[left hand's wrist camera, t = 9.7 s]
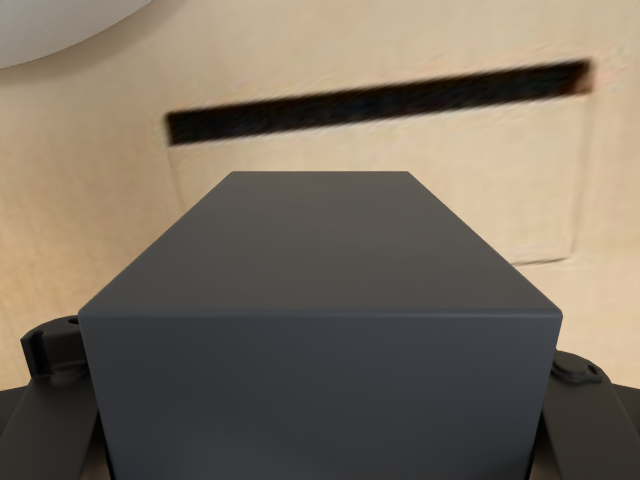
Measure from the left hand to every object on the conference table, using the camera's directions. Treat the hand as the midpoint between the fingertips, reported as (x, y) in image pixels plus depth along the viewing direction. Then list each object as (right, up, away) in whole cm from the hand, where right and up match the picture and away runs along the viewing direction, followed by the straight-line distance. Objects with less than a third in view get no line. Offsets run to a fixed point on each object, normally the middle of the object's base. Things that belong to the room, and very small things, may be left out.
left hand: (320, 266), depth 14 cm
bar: (0, -7, +3) cm, 8 cm away
